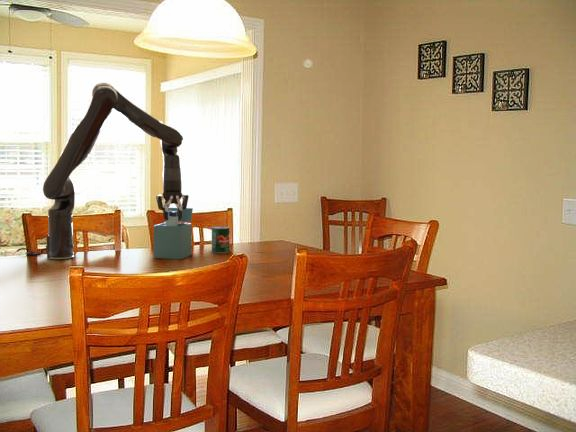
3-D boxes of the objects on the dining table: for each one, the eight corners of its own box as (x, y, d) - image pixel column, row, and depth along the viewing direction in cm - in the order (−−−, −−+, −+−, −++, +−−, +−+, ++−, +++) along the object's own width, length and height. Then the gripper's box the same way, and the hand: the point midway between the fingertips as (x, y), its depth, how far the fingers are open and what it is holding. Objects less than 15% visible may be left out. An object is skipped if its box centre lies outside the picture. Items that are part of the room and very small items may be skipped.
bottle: (161, 239, 250) (165, 210, 250) (166, 238, 255) (169, 210, 254) (173, 241, 249) (176, 212, 249) (177, 240, 254) (180, 212, 254)
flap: (166, 207, 260) (166, 207, 260) (164, 220, 258) (164, 221, 259) (192, 208, 258) (192, 208, 258) (191, 221, 256) (191, 221, 257)
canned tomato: (223, 253, 261) (223, 228, 260) (208, 252, 264) (207, 227, 263) (232, 251, 268) (232, 226, 267) (217, 250, 271) (217, 225, 270)
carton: (154, 258, 248) (153, 225, 247) (164, 253, 260) (164, 222, 259) (181, 259, 246) (181, 226, 245) (191, 254, 258) (191, 223, 257)
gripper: (159, 179, 243) (160, 221, 244) (192, 179, 251) (192, 219, 253) (152, 179, 249) (152, 220, 250) (184, 178, 257) (184, 218, 259)
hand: (172, 219), depth 251 cm, fingers closed on bottle, 5 cm apart
